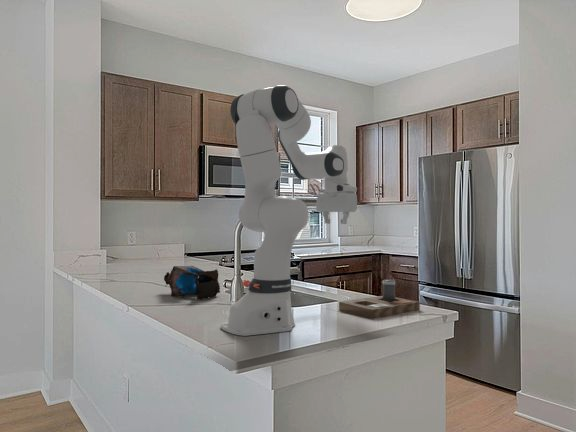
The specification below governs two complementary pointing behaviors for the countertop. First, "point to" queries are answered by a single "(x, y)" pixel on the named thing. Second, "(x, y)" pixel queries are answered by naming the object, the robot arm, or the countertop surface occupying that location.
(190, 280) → the lantern
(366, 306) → the socket plate
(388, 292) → the plug
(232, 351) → the countertop surface
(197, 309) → the countertop surface
